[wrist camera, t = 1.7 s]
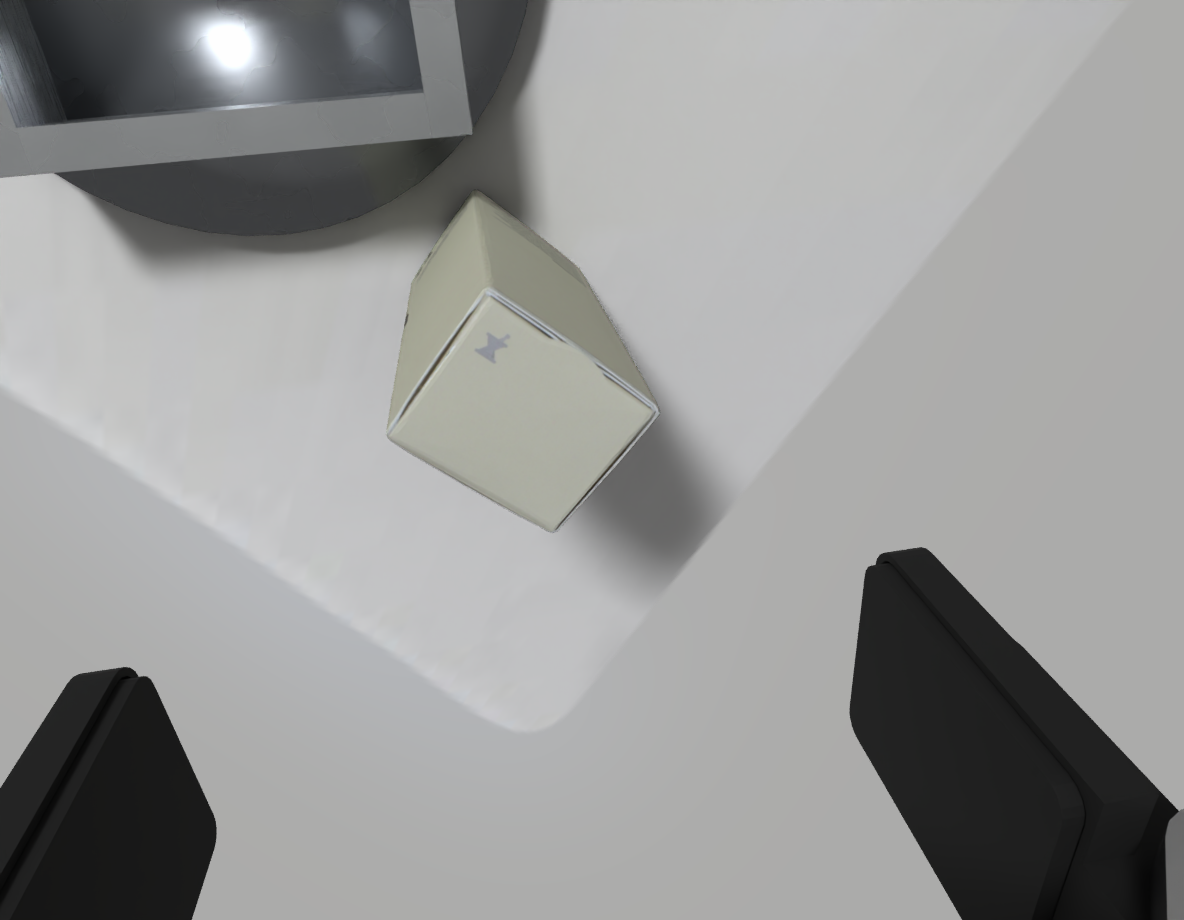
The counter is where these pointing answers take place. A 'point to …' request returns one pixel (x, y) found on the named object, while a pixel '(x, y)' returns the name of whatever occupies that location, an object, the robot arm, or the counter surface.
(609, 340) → the box
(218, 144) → the disc with square frame
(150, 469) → the counter surface
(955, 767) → the robot arm
